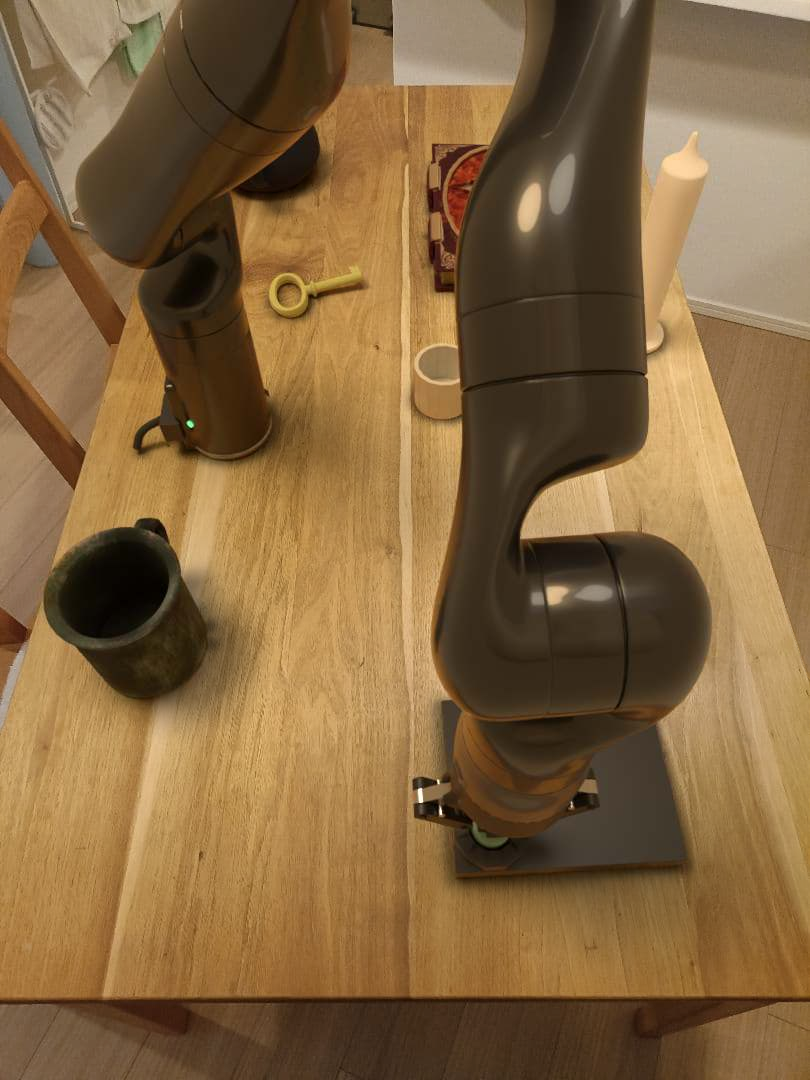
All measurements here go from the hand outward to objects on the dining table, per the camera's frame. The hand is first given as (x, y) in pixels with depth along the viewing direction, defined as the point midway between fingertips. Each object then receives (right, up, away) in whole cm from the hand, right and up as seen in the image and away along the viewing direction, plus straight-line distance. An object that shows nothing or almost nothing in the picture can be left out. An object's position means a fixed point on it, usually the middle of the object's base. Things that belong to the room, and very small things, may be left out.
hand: (493, 823), depth 58 cm
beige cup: (-3, +38, +30) cm, 48 cm away
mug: (-30, +13, +14) cm, 36 cm away
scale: (+6, +1, +6) cm, 8 cm away
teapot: (-27, +76, +55) cm, 98 cm away
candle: (+21, +47, +35) cm, 62 cm away
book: (+7, +65, +47) cm, 81 cm away
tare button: (0, -1, +1) cm, 2 cm away
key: (-18, +53, +40) cm, 69 cm away
